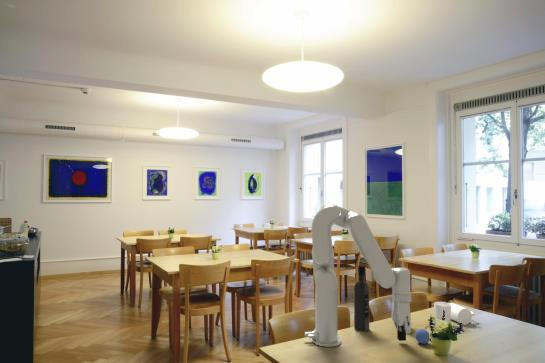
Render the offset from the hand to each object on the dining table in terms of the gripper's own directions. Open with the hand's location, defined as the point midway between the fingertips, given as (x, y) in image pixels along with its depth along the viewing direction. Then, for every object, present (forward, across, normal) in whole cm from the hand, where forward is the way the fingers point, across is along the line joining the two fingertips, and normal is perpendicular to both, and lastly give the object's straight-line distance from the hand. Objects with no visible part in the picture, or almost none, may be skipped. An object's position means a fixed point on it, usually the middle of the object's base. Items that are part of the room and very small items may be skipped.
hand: (401, 339), depth 163 cm
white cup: (+2, -22, +30) cm, 37 cm away
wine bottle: (+2, -18, -12) cm, 22 cm away
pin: (+2, -12, +8) cm, 14 cm away
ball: (-2, +1, +9) cm, 9 cm away
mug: (+2, -26, +42) cm, 49 cm away
